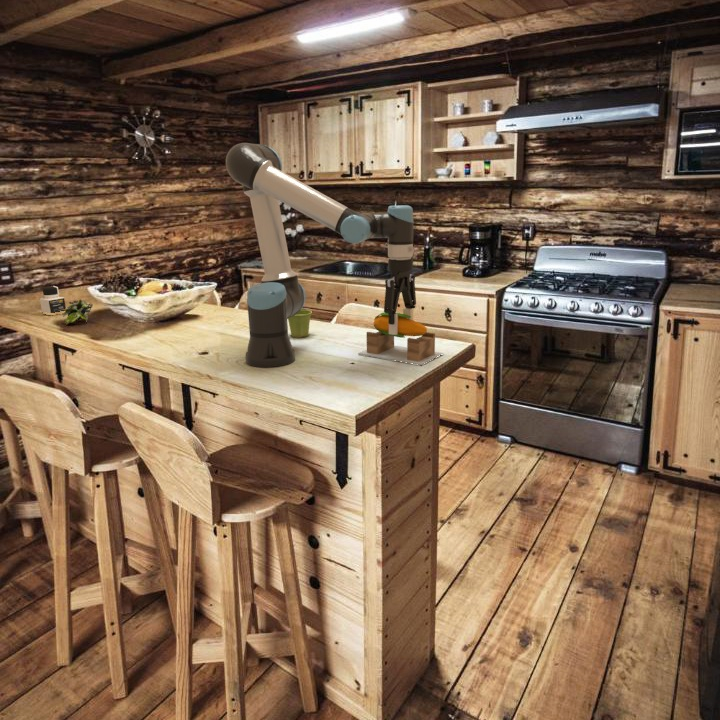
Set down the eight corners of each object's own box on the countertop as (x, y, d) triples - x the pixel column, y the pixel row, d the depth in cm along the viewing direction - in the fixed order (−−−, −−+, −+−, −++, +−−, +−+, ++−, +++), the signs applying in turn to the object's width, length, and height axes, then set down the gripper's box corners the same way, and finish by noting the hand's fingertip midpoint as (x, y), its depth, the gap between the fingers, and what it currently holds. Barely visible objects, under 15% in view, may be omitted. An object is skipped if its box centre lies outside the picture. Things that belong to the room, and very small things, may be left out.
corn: (381, 306, 196) (434, 314, 184) (382, 329, 199) (434, 338, 187) (367, 312, 191) (420, 320, 179) (369, 335, 194) (421, 344, 181)
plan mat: (421, 366, 180) (421, 364, 180) (358, 354, 193) (358, 353, 192) (443, 355, 191) (443, 353, 191) (382, 345, 204) (382, 343, 203)
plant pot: (308, 339, 213) (307, 315, 210) (283, 338, 215) (281, 314, 212) (315, 333, 222) (315, 309, 219) (291, 332, 223) (290, 309, 221)
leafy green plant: (78, 334, 250) (87, 307, 254) (95, 332, 244) (103, 305, 248) (54, 323, 241) (62, 296, 245) (70, 321, 235) (79, 293, 239)
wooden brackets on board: (418, 363, 182) (418, 340, 180) (366, 354, 193) (366, 332, 191) (434, 355, 190) (435, 333, 188) (383, 347, 201) (383, 326, 199)
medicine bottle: (51, 316, 259) (46, 288, 256) (42, 314, 263) (37, 287, 259) (66, 313, 265) (62, 286, 261) (57, 311, 268) (53, 284, 265)
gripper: (392, 262, 173) (392, 340, 179) (428, 255, 189) (427, 326, 195) (371, 261, 177) (371, 336, 184) (407, 253, 193) (407, 323, 200)
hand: (400, 331), depth 189 cm, fingers open, 8 cm apart
